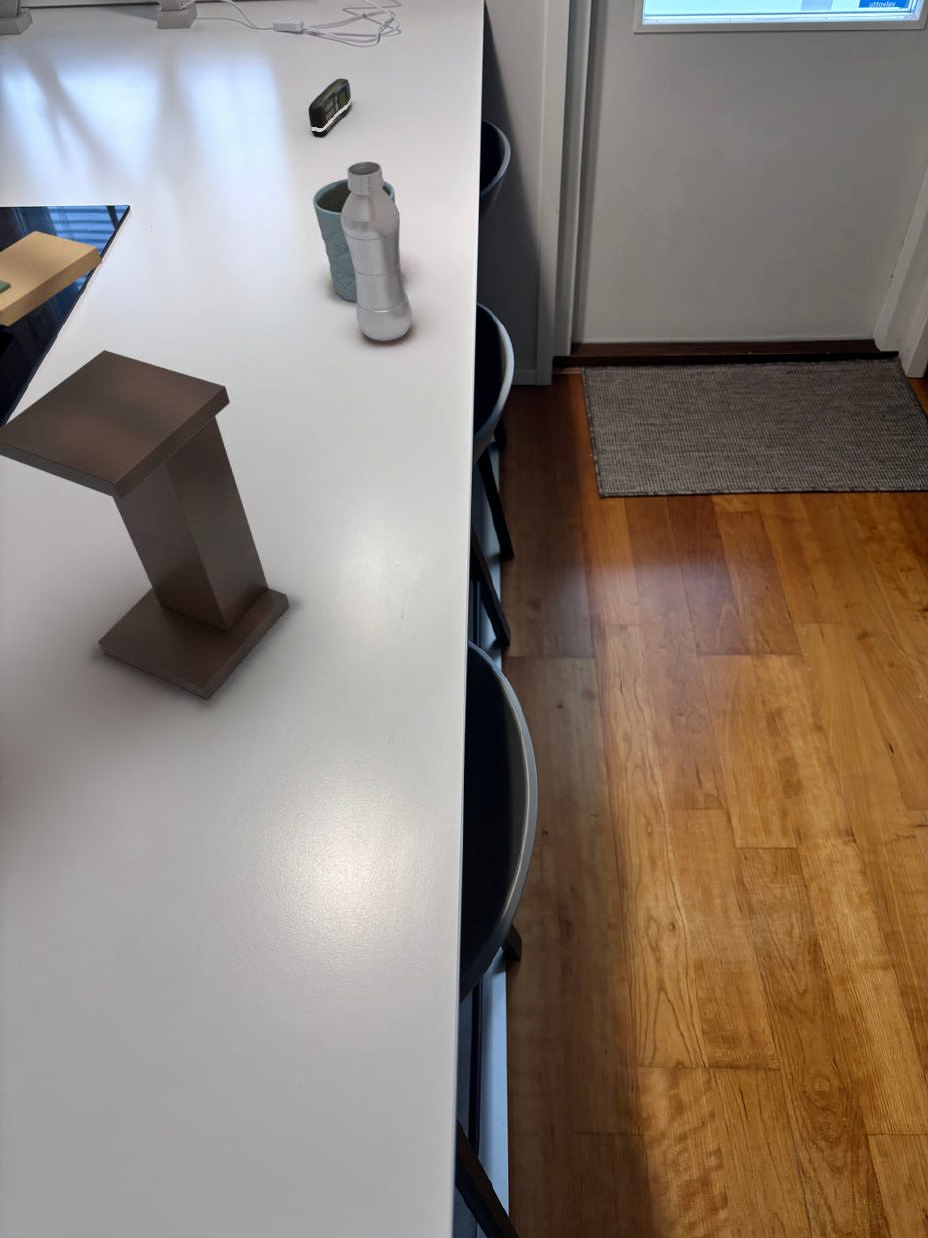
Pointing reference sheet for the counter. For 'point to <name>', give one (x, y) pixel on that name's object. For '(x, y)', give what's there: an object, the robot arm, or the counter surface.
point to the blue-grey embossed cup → (338, 235)
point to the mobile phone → (329, 105)
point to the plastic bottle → (375, 254)
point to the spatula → (40, 271)
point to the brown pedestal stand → (160, 511)
